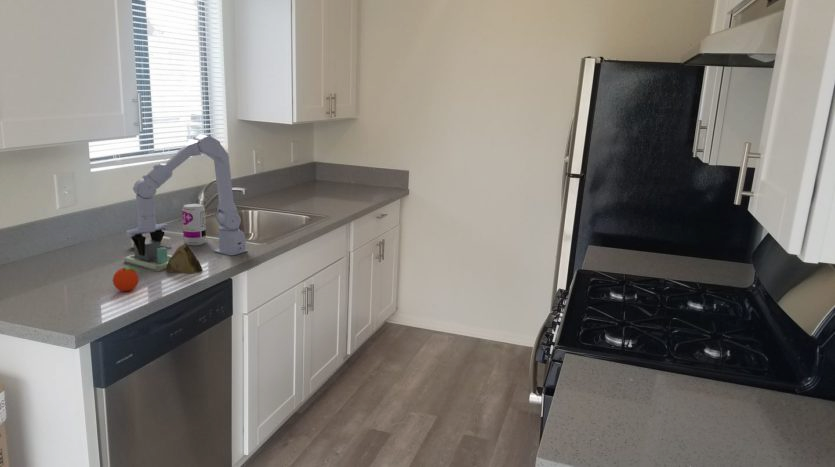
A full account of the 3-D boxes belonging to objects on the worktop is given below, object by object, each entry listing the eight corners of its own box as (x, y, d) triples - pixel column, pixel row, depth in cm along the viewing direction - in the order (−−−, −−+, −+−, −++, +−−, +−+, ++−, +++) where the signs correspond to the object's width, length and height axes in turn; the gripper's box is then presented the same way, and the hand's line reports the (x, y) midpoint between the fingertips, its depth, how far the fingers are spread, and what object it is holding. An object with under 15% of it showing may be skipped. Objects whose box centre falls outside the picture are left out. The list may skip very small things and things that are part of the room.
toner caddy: (170, 261, 207) (169, 244, 205) (158, 264, 203) (157, 247, 201) (147, 254, 213) (146, 238, 212) (134, 257, 209) (133, 241, 207)
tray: (184, 264, 208) (184, 259, 208) (157, 271, 199) (156, 266, 198) (152, 255, 217) (152, 250, 216) (124, 262, 207) (123, 257, 207)
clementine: (142, 285, 185) (140, 263, 184) (144, 292, 179) (142, 269, 178) (113, 288, 182) (111, 265, 180) (114, 295, 176) (112, 272, 174)
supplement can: (191, 247, 229) (190, 208, 226) (179, 243, 234) (177, 205, 231) (210, 243, 236) (209, 205, 232) (198, 239, 240) (196, 202, 237)
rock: (155, 266, 197) (175, 268, 192) (166, 242, 200) (185, 243, 195) (180, 279, 205) (200, 281, 200) (190, 256, 208) (210, 257, 203)
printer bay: (171, 247, 228) (170, 231, 227) (149, 252, 220) (148, 236, 219) (153, 242, 233) (152, 227, 232) (131, 247, 225) (130, 231, 224)
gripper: (157, 210, 213) (159, 247, 216) (119, 216, 201) (122, 255, 204) (170, 212, 210) (172, 250, 213) (132, 219, 198) (135, 259, 201)
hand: (149, 253), depth 208 cm, fingers closed on toner caddy, 5 cm apart
